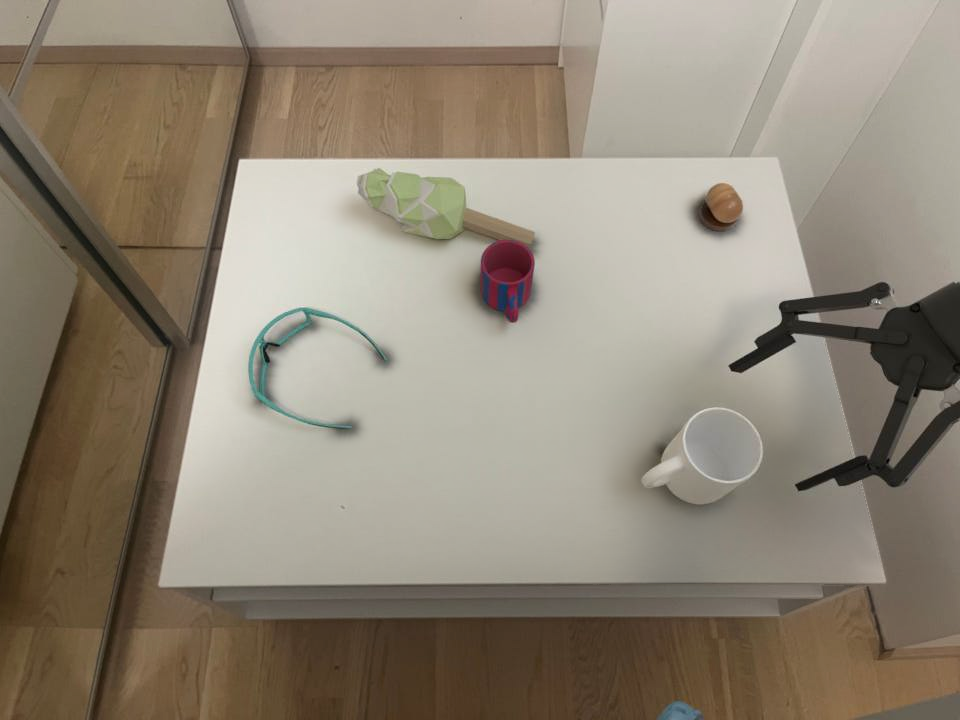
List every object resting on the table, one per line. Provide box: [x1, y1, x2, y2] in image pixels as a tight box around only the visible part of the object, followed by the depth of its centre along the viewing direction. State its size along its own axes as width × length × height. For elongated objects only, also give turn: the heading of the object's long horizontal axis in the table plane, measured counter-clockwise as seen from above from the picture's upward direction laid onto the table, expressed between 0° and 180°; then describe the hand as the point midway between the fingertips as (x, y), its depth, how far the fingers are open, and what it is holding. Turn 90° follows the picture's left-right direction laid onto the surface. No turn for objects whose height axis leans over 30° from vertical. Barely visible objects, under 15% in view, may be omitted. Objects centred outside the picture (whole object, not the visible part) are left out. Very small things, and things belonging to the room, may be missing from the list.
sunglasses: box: [247, 307, 388, 430], centre depth 82 cm, size 14×15×5 cm
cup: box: [480, 240, 536, 323], centre depth 85 cm, size 7×10×7 cm
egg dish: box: [698, 182, 744, 232], centre depth 92 cm, size 6×5×5 cm
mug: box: [641, 406, 764, 505], centre depth 74 cm, size 12×8×10 cm
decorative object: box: [356, 167, 536, 249], centre depth 90 cm, size 9×10×25 cm
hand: (765, 426), depth 69 cm, fingers open, 13 cm apart
